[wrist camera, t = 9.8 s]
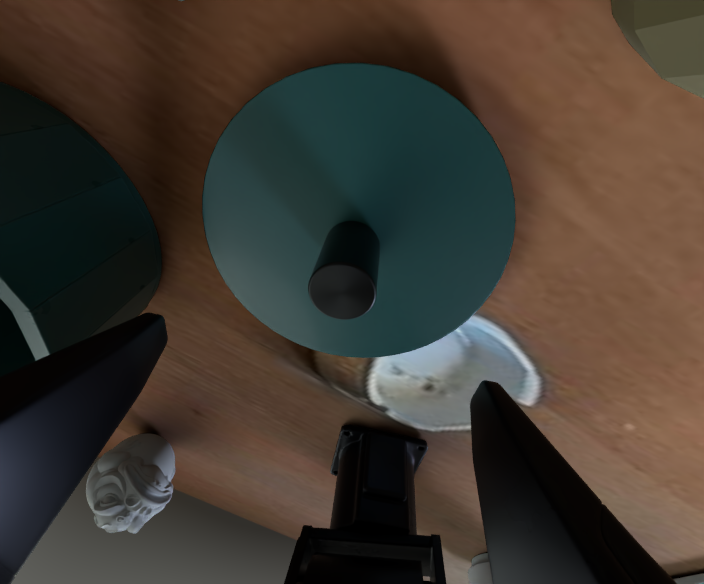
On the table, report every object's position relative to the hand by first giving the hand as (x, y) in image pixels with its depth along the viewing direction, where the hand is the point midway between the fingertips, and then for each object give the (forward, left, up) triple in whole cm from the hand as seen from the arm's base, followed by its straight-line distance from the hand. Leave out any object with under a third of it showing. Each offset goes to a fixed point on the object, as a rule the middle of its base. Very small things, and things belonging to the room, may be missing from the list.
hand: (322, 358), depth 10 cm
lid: (0, 0, -8) cm, 8 cm away
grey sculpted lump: (-22, +13, -9) cm, 27 cm away
